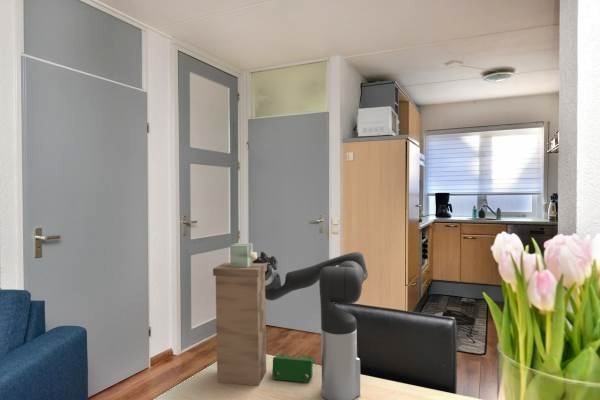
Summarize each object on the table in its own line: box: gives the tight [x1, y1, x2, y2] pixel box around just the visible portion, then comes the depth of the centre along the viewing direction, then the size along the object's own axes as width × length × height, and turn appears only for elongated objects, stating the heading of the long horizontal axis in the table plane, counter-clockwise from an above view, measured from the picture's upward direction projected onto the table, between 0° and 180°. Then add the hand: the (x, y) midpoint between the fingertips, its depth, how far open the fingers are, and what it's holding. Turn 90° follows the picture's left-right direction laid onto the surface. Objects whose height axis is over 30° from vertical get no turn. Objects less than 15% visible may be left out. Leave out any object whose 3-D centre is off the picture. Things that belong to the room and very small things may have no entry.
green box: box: [271, 354, 316, 383], centre depth 111 cm, size 12×6×9 cm, turn 72°
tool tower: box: [212, 262, 267, 386], centre depth 110 cm, size 9×13×32 cm
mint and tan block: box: [229, 242, 258, 267], centre depth 115 cm, size 14×5×6 cm, turn 170°
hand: (248, 254), depth 118 cm, fingers open, 7 cm apart
